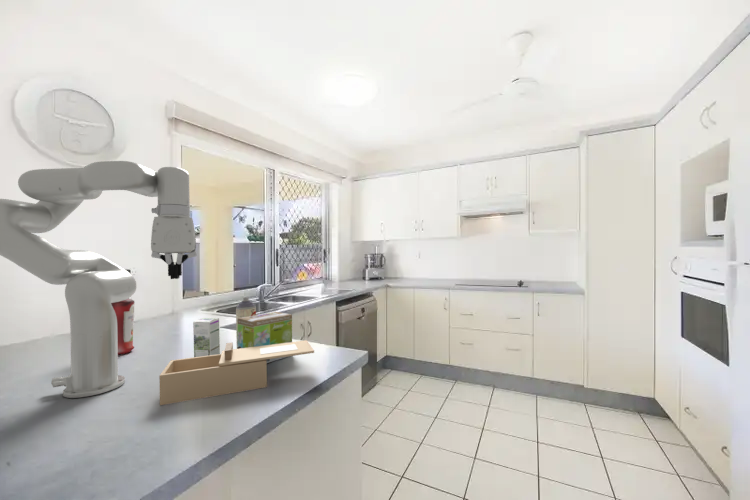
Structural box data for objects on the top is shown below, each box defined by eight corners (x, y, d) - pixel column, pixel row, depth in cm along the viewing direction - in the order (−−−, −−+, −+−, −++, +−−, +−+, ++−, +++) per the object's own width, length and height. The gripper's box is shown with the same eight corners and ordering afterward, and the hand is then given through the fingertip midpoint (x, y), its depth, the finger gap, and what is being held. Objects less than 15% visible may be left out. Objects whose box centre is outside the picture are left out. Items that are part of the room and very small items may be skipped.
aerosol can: (255, 353, 113) (254, 297, 113) (234, 355, 111) (233, 298, 112) (258, 348, 120) (257, 295, 120) (238, 349, 118) (237, 296, 118)
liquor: (115, 351, 120) (114, 277, 121) (138, 348, 123) (137, 276, 123) (105, 356, 113) (105, 278, 114) (130, 354, 116) (129, 278, 116)
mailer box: (159, 405, 75) (159, 375, 75) (171, 386, 86) (170, 360, 86) (266, 387, 84) (266, 360, 84) (264, 371, 95) (264, 348, 95)
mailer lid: (218, 366, 79) (218, 353, 80) (222, 352, 91) (222, 341, 91) (314, 352, 88) (313, 341, 89) (306, 342, 100) (306, 332, 100)
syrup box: (220, 360, 106) (220, 317, 107) (210, 366, 100) (209, 321, 101) (204, 360, 107) (204, 317, 107) (193, 366, 101) (192, 321, 101)
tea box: (254, 369, 98) (253, 321, 98) (236, 362, 104) (236, 317, 104) (293, 355, 110) (292, 313, 110) (275, 351, 116) (275, 310, 116)
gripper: (137, 210, 82) (138, 281, 82) (202, 211, 88) (203, 278, 87) (146, 213, 89) (146, 279, 89) (205, 215, 94) (206, 276, 94)
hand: (175, 278), depth 88 cm, fingers closed
